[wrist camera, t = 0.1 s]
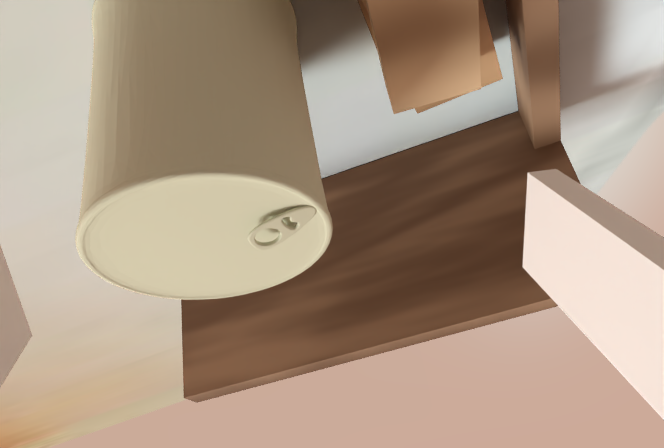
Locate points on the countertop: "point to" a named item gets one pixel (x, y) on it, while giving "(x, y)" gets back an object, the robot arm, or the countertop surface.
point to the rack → (402, 244)
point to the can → (199, 150)
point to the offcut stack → (431, 49)
